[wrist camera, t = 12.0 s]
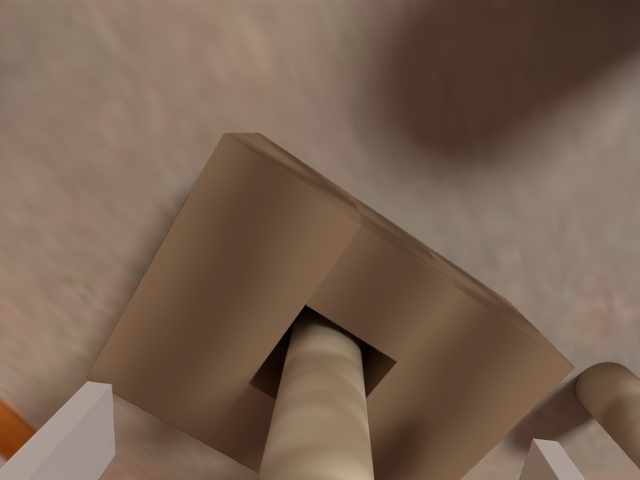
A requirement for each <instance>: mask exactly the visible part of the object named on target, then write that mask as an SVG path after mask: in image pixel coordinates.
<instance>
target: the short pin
mask: <svg viewBox="0 0 640 480" xmlns="http://www.w3.org/2000/svg"><path fill="white" fill-rule="evenodd" d="M575 394H576V397H577V399H578V400H579V402H580V403H581V404H582V405H583V406H584V407H585V408H586V409H587V411H588V412H589V413H590V414H591V415H592V416H593V417H594V418H595V420H596V421H597V422H598V423H599V424H600V425H601V426H602V427H603V428H604V430H605V431H606V432H607V433H608V434H609V435H610V436H611V437H612V439H613V440H614V441H615V442H616V443H617V444H618V445H619V446H620V448H621V449H622V450H623V451H624V452H625V453H626V454H627V455H628V457H629V458H630V459H631V460H632V461H633V462H634V463H635V464H636V466H637V467H638V468H639V469H640V379H639V378H638V377H637V376H636V375H634V374H633V373H632V372H631V371H630V370H628V369H627V368H626V367H625V366H623V365H621V364H618V363H613V362H605V363H599V364H596V365H594V366H592V367H590V368H588V369H587V370H585V371H584V372H583V373H582V374H581V375H580V377H579V378H578V380H577V382H576V386H575Z"/></svg>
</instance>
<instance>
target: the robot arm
mask: <svg viewBox="0 0 640 480" xmlns="http://www.w3.org/2000/svg"><path fill="white" fill-rule="evenodd" d="M114 456H115V438H114V417H113V397H112V384H105V383H97V382H89V381H87V382H86V383H85V384H84V385H83V386H82V387H81V388H80V389H79V390H78V391H77V392H76V393H75V394H74V395H73V396H72V397H71V398H70V399H69V400H68V401H67V402H66V403H65V404H64V405H63V406H62V407H61V408H60V409H59V410H58V411H57V412H56V413H55V414H54V415H53V416H52V417H51V418H50V419H49V420H48V421H47V422H46V423H45V424H44V425H43V426H42V427H41V428H40V429H39V430H38V431H37V432H36V433H35V434H34V435H33V436H32V437H31V438H30V439H29V440H28V441H27V442H26V443H25V444H24V445H23V446H22V447H21V448H20V449H19V450H18V451H17V452H16V453H15V454H14V455H13V456H12V457H11V458H10V459H9V460H8V461H7V462H6V463H5V464H4V465H3V466H2V467H1V468H0V480H98V479H99V478H100V476H101V475H102V473H103V472H104V470H105V469H106V467H107V466H108V465H109V463H110V462H111V460H112V459H113V457H114ZM519 480H585V479H584V478H583V476H582V475H581V474H580V472H579V471H578V469H577V468H576V466H575V465H574V464H573V462H572V461H571V459H570V458H569V457H568V455H567V454H566V452H565V451H564V450H563V448H562V447H561V445H560V444H559V442H556V441H549V440H541V439H533V440H532V443H531V446H530V449H529V452H528V455H527V458H526V461H525V464H524V467H523V470H522V473H521V476H520V479H519Z"/></svg>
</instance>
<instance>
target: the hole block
mask: <svg viewBox="0 0 640 480" xmlns="http://www.w3.org/2000/svg"><path fill="white" fill-rule="evenodd" d="M305 305H307V306H308V307H310V308H312V309H313V310H315V311H316V312H318V313H320V314H321V315H323V316H324V317H326V318H328V319H329V320H331V321H332V322H334V323H336V324H337V325H339V326H341V327H342V328H344V329H345V330H347V331H349V332H350V333H352V334H353V335H355V336H357V337H358V338H359V339H360V348H361V358H362V368H363V377H364V387H365V396H366V406H367V415H368V425H369V435H370V444H371V454H372V463H373V473H374V480H460V479H461V478H462V477H463V476H465V475H466V474H467V473H468V472H469V471H470V470H471V469H472V468H473V467H474V466H475V465H476V464H477V463H478V462H479V461H480V460H481V459H482V458H483V457H484V456H485V455H486V454H487V453H488V452H489V451H490V450H491V449H492V448H493V447H494V446H495V445H496V444H497V443H498V442H499V441H500V440H501V439H502V438H503V437H504V436H505V435H506V434H507V433H509V432H510V431H511V430H512V429H513V428H514V427H515V426H516V425H517V424H518V423H519V422H520V421H521V420H522V419H523V418H524V417H525V416H526V415H527V414H528V413H529V412H530V411H531V410H532V409H533V408H534V407H535V406H536V405H537V404H538V403H539V402H540V401H541V400H542V399H543V398H544V397H545V396H546V395H547V394H548V393H549V392H550V391H552V390H553V389H554V388H555V387H556V386H557V385H558V384H559V383H560V382H561V381H562V380H563V379H564V378H565V377H566V376H567V375H568V374H569V373H570V372H571V371H572V370H573V369H574V368H575V367H574V366H573V365H572V364H571V363H570V362H569V361H568V360H567V359H566V358H565V357H564V356H563V355H562V354H561V353H560V352H559V351H558V350H557V349H556V348H555V347H554V346H553V345H552V344H551V343H550V342H549V341H548V340H547V339H546V338H545V337H544V336H543V335H542V334H541V333H540V332H539V331H538V330H537V329H536V328H535V327H534V326H533V325H532V324H531V323H530V322H529V321H528V320H527V319H526V318H525V317H524V316H523V315H522V314H521V313H520V312H519V311H518V310H517V309H516V308H515V307H514V306H513V305H512V304H511V303H510V302H509V301H508V300H506V299H505V298H503V297H502V296H500V295H499V294H497V293H496V292H494V291H493V290H491V289H490V288H488V287H487V286H485V285H484V284H482V283H481V282H479V281H478V280H476V279H475V278H473V277H472V276H471V275H469V274H468V273H466V272H465V271H463V270H462V269H460V268H459V267H457V266H456V265H454V264H453V263H451V262H450V261H448V260H447V259H445V258H444V257H442V256H441V255H439V254H438V253H436V252H435V251H433V250H432V249H430V248H429V247H428V246H426V245H425V244H423V243H422V242H420V241H419V240H417V239H416V238H414V237H413V236H411V235H410V234H408V233H407V232H405V231H404V230H402V229H401V228H399V227H398V226H396V225H395V224H393V223H392V222H390V221H389V220H387V219H386V218H385V217H383V216H382V215H380V214H379V213H377V212H376V211H374V210H373V209H371V208H370V207H368V206H367V205H365V204H364V203H362V202H361V201H359V200H358V199H356V198H355V197H353V196H352V195H350V194H349V193H347V192H346V191H344V190H343V189H342V188H340V187H339V186H337V185H336V184H334V183H333V182H331V181H330V180H328V179H327V178H325V177H324V176H322V175H321V174H319V173H318V172H316V171H315V170H313V169H312V168H310V167H309V166H307V165H306V164H304V163H303V162H301V161H300V160H299V159H297V158H296V157H294V156H293V155H291V154H290V153H288V152H287V151H285V150H284V149H282V148H281V147H279V146H278V145H276V144H275V143H273V142H272V141H270V140H269V139H267V138H266V137H264V136H263V135H261V134H260V133H224V134H223V136H222V138H221V139H220V141H219V143H218V145H217V147H216V148H215V150H214V152H213V154H212V155H211V157H210V159H209V161H208V163H207V164H206V166H205V168H204V170H203V171H202V173H201V175H200V177H199V179H198V180H197V182H196V184H195V186H194V187H193V189H192V191H191V193H190V195H189V196H188V198H187V200H186V202H185V203H184V205H183V207H182V209H181V211H180V212H179V214H178V216H177V218H176V220H175V221H174V223H173V225H172V227H171V228H170V230H169V232H168V234H167V236H166V237H165V239H164V241H163V243H162V244H161V246H160V248H159V250H158V252H157V253H156V255H155V257H154V259H153V260H152V262H151V264H150V266H149V268H148V269H147V271H146V273H145V275H144V276H143V278H142V280H141V282H140V284H139V285H138V287H137V289H136V291H135V292H134V294H133V296H132V298H131V300H130V301H129V303H128V305H127V307H126V309H125V310H124V312H123V314H122V316H121V317H120V319H119V321H118V323H117V325H116V326H115V328H114V330H113V332H112V333H111V335H110V337H109V339H108V341H107V342H106V344H105V346H104V348H103V349H102V351H101V353H100V355H99V357H98V358H97V360H96V362H95V364H94V365H93V367H92V369H91V371H90V373H89V374H88V376H87V379H89V380H90V381H92V382H97V383H105V384H112V393H114V394H116V395H118V396H119V397H121V398H123V399H125V400H127V401H129V402H130V403H132V404H134V405H136V406H138V407H139V408H141V409H143V410H145V411H147V412H149V413H150V414H152V415H154V416H156V417H158V418H159V419H161V420H163V421H165V422H167V423H168V424H170V425H172V426H174V427H176V428H178V429H179V430H181V431H183V432H185V433H187V434H188V435H190V436H192V437H194V438H196V439H197V440H199V441H201V442H203V443H205V444H207V445H208V446H210V447H212V448H214V449H216V450H217V451H219V452H221V453H223V454H225V455H227V456H228V457H230V458H232V459H234V460H236V461H237V462H239V463H241V464H243V465H245V466H246V467H248V468H250V469H252V470H254V471H256V472H257V473H259V472H260V467H261V463H262V459H263V454H264V450H265V446H266V441H267V437H268V433H269V429H270V424H271V420H272V416H273V411H274V407H275V403H276V398H277V394H278V390H279V385H280V381H281V377H282V372H283V368H284V364H285V360H286V355H287V351H288V347H289V342H290V338H291V334H292V329H293V328H291V327H289V326H290V325H291V324H292V322H293V321H294V320H295V318H296V317H297V315H298V314H299V313H300V311H301V310H302V308H303V307H304V306H305Z"/></svg>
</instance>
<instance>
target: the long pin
mask: <svg viewBox="0 0 640 480" xmlns="http://www.w3.org/2000/svg"><path fill="white" fill-rule="evenodd" d="M258 480H374V473H373V463H372V454H371V444H370V435H369V425H368V415H367V406H366V396H365V387H364V377H363V368H362V358H361V348H360V339H359V338H358V337H357V336H355V335H353V334H352V333H350V332H349V331H347V330H345V329H344V328H342V327H341V326H339V325H337V324H336V323H334V322H332V321H331V320H329V319H328V318H326V317H324V316H323V315H321V314H320V313H318V312H316V311H315V310H313V309H312V308H310V307H308V306H307V305H305V306H304V307H303V308H302V310H301V311H300V313H299V314H298V315H297V317H296V318H295V321H294V325H293V329H292V334H291V338H290V342H289V347H288V351H287V355H286V360H285V364H284V368H283V372H282V377H281V381H280V385H279V390H278V394H277V398H276V403H275V407H274V411H273V416H272V420H271V424H270V429H269V433H268V437H267V441H266V446H265V450H264V454H263V459H262V463H261V467H260V472H259V476H258Z"/></svg>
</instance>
